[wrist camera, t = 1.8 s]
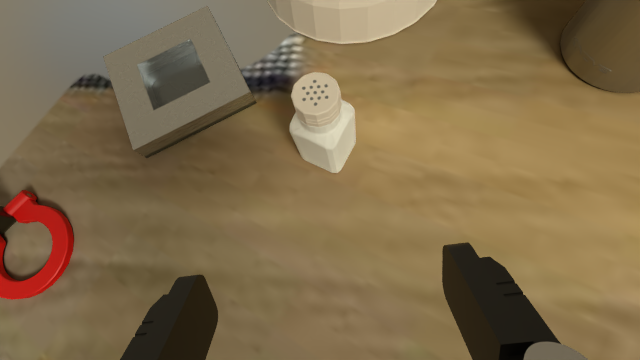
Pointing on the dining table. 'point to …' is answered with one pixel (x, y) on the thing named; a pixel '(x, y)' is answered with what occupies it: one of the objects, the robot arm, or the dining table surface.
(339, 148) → the salt shaker
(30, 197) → the tow hook
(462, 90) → the dining table surface
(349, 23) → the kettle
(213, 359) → the dining table surface
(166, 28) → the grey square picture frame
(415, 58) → the dining table surface
